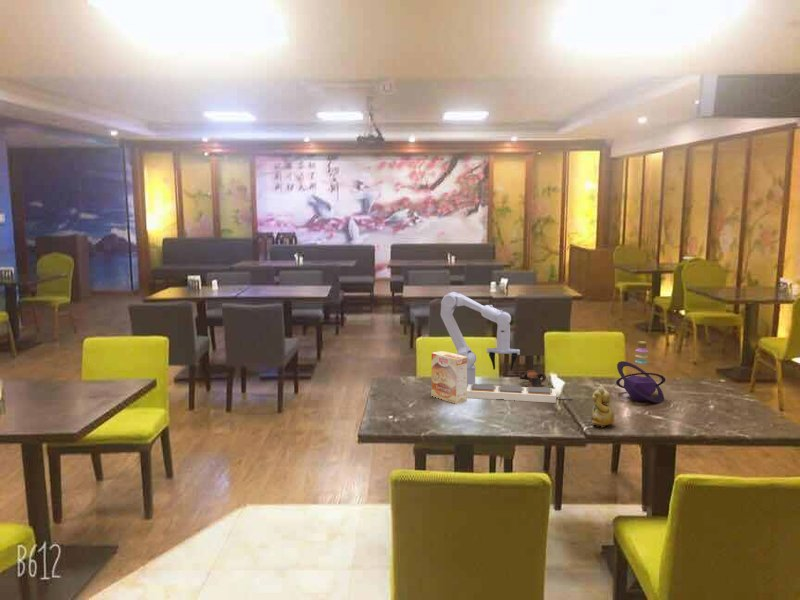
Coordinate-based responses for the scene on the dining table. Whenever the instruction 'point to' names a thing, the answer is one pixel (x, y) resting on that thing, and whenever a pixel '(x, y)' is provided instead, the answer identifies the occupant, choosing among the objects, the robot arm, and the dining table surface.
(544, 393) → the right button
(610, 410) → the decorative figurine
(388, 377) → the dining table surface
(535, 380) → the brown grey irregular piece
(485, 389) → the left button
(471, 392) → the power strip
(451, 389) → the coffeecake box
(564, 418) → the dining table surface
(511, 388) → the middle button
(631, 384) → the decorative bottle
